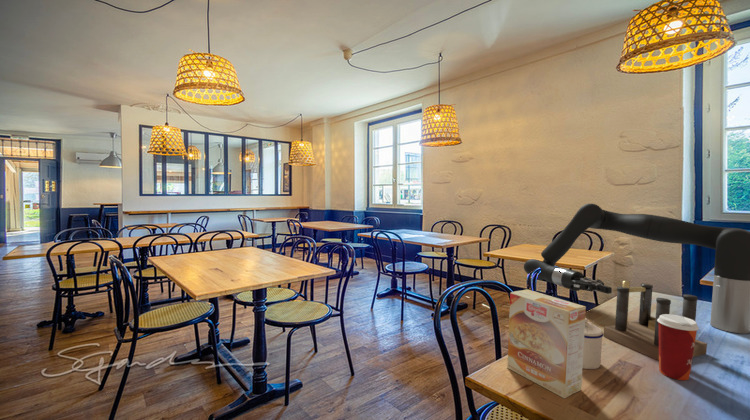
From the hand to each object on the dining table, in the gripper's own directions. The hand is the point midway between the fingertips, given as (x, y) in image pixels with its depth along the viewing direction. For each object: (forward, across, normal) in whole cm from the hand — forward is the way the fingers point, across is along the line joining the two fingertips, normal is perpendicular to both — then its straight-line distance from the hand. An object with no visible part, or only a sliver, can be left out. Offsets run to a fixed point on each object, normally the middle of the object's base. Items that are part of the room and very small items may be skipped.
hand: (610, 290), depth 119 cm
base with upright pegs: (+18, -6, +11) cm, 21 cm away
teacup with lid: (+18, -35, +11) cm, 41 cm away
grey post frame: (+11, -4, +7) cm, 14 cm away
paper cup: (+31, -18, +11) cm, 37 cm away
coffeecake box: (+23, -51, +11) cm, 57 cm away
